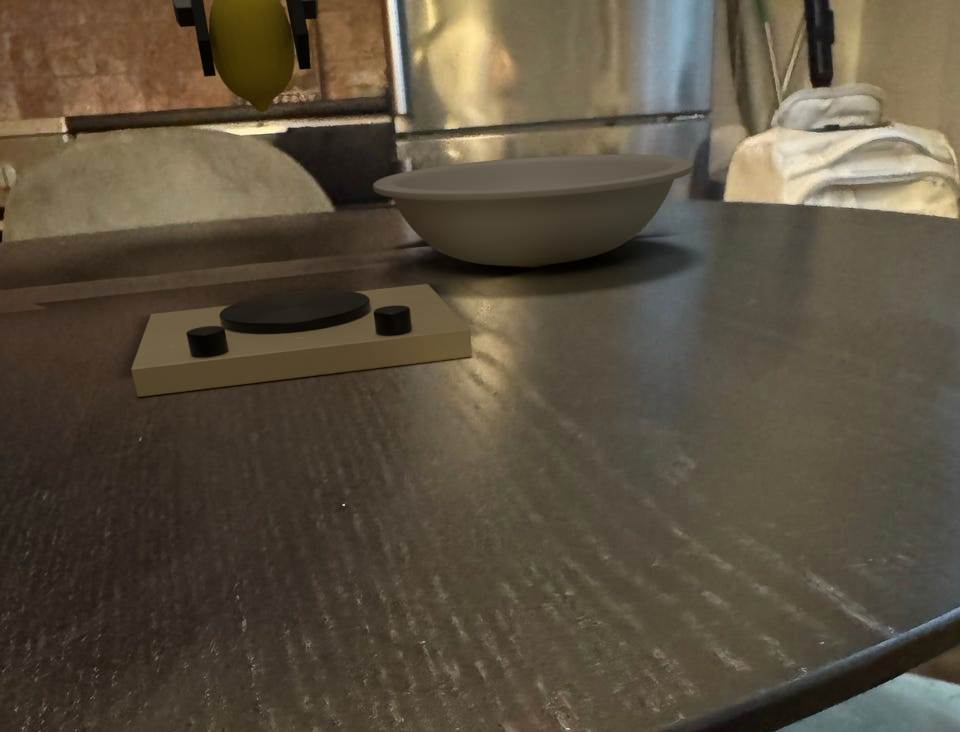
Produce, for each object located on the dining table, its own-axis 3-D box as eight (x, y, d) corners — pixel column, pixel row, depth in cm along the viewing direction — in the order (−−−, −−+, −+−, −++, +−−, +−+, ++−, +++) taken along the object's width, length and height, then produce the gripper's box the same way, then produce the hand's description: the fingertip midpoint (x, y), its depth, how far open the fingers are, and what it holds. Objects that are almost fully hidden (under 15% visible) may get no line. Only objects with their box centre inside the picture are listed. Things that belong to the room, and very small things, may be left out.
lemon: (248, 115, 65) (224, -32, 61) (207, 115, 68) (182, -23, 64) (318, 108, 68) (300, -32, 64) (275, 109, 71) (256, -24, 67)
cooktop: (156, 337, 64) (146, 294, 62) (429, 306, 66) (426, 264, 65) (137, 397, 52) (125, 345, 50) (472, 356, 55) (468, 306, 53)
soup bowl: (688, 290, 65) (692, 182, 62) (343, 300, 70) (330, 199, 67) (690, 232, 86) (694, 147, 82) (422, 242, 90) (415, 163, 87)
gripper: (52, -273, 64) (91, 13, 58) (337, -278, 67) (399, -6, 61) (84, -153, 71) (121, 112, 65) (339, -162, 74) (396, 91, 68)
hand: (255, 54), depth 63 cm, fingers closed on lemon, 5 cm apart
